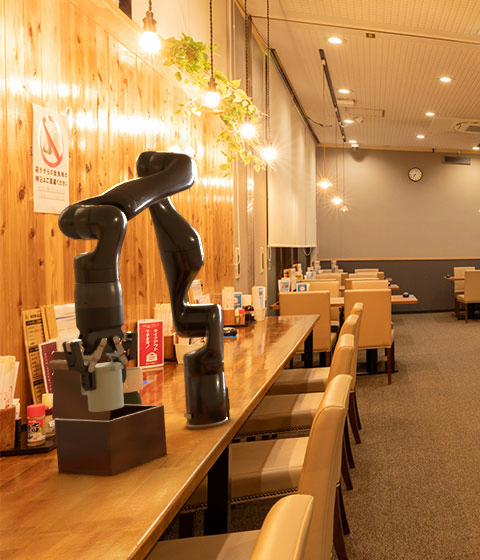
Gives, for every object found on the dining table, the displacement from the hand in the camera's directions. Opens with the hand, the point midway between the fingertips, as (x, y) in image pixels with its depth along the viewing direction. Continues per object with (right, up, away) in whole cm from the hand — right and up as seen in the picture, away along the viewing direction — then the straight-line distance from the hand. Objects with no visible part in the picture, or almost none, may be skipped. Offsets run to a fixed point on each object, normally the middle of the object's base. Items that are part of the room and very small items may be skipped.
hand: (105, 386), depth 131 cm
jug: (0, -5, 0) cm, 5 cm away
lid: (-11, -1, +8) cm, 14 cm away
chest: (-10, -20, +15) cm, 27 cm away
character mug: (-41, -18, +58) cm, 73 cm away
